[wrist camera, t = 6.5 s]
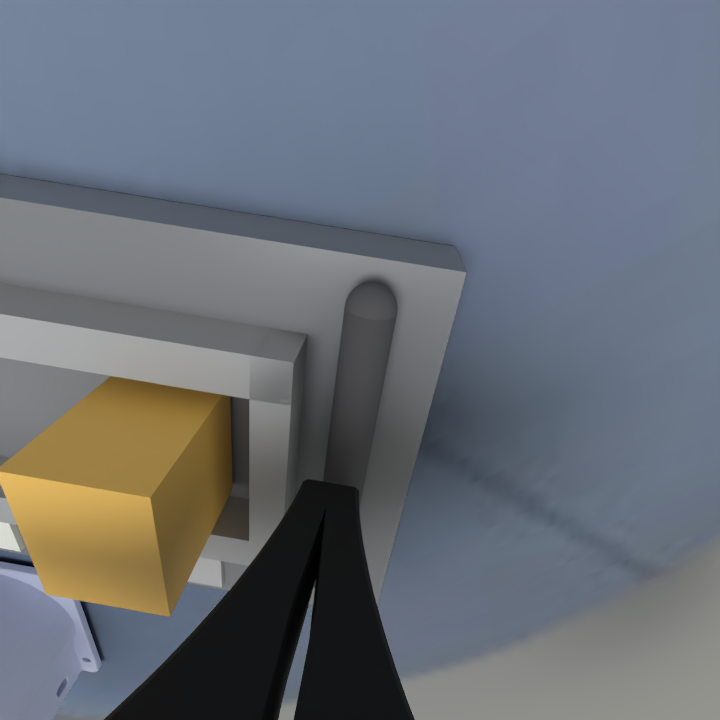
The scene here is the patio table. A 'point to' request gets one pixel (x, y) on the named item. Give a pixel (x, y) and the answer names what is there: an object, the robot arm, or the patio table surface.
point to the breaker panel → (217, 341)
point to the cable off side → (359, 382)
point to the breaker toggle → (123, 493)
